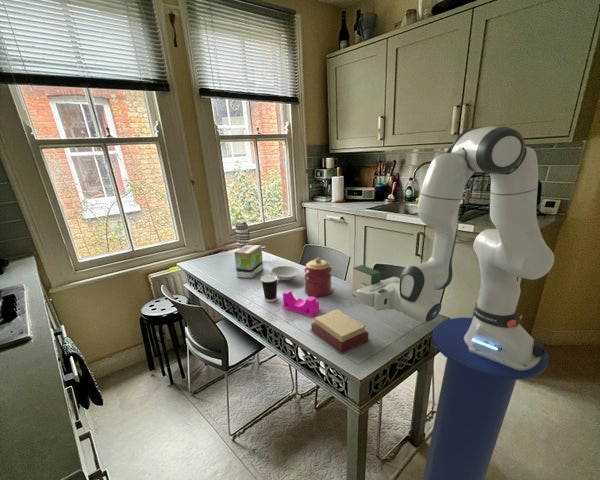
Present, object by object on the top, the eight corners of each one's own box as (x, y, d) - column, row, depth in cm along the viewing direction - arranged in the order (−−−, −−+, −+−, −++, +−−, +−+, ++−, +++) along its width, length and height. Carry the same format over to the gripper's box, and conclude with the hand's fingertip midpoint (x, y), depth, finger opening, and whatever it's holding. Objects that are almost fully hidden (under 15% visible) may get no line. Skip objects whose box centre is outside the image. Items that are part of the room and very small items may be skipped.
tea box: (252, 278, 174) (250, 253, 168) (236, 277, 177) (233, 252, 171) (263, 268, 187) (261, 244, 181) (248, 267, 190) (245, 243, 184)
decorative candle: (252, 262, 198) (247, 222, 188) (237, 263, 198) (232, 223, 188) (253, 257, 207) (249, 219, 196) (239, 258, 206) (234, 220, 196)
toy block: (319, 310, 139) (319, 295, 136) (311, 316, 134) (311, 301, 131) (291, 302, 147) (291, 287, 144) (283, 308, 142) (282, 293, 139)
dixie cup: (282, 299, 150) (280, 278, 145) (267, 304, 146) (265, 283, 141) (273, 294, 156) (272, 273, 151) (259, 298, 151) (257, 277, 147)
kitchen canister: (335, 294, 152) (335, 260, 145) (309, 299, 149) (308, 264, 142) (325, 284, 164) (325, 252, 156) (302, 288, 161) (300, 255, 153)
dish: (265, 278, 174) (264, 270, 171) (285, 271, 182) (285, 263, 180) (285, 288, 161) (284, 279, 159) (306, 280, 170) (306, 271, 167)
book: (379, 301, 121) (381, 271, 116) (370, 304, 118) (372, 275, 113) (360, 292, 129) (361, 264, 124) (352, 295, 126) (352, 267, 121)
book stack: (368, 340, 117) (369, 326, 114) (341, 353, 111) (341, 338, 108) (336, 320, 131) (336, 307, 128) (311, 330, 124) (310, 317, 122)
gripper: (415, 279, 114) (386, 268, 124) (374, 295, 104) (346, 282, 114) (413, 295, 116) (384, 283, 127) (373, 312, 106) (346, 297, 117)
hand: (366, 283), depth 121 cm, fingers closed on book, 4 cm apart
